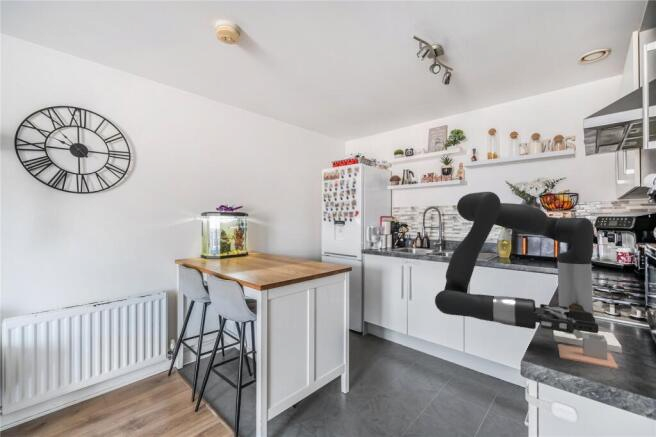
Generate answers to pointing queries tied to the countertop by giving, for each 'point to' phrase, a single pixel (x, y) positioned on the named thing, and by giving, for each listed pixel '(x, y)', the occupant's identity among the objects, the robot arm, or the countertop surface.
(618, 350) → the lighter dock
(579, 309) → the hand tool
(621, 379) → the countertop surface
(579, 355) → the mat
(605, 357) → the lighter
